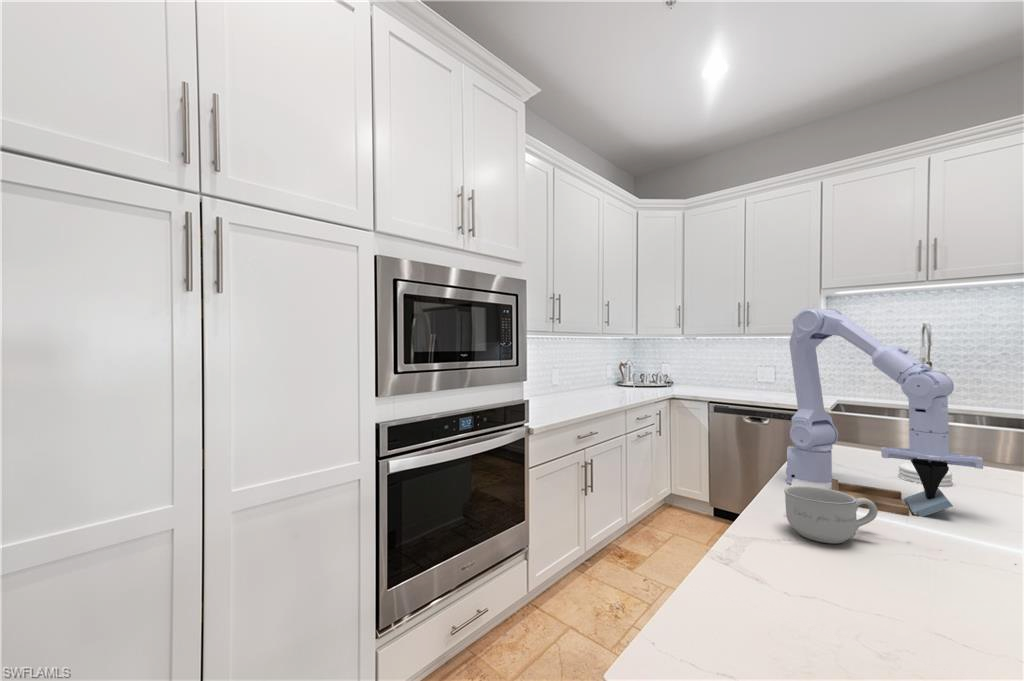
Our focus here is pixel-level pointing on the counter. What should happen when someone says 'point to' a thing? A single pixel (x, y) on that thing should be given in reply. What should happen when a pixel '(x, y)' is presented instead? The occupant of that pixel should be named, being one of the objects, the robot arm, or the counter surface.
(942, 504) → the tailgate
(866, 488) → the wooden tray
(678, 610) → the counter surface
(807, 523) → the teacup
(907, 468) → the coaster
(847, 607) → the counter surface
